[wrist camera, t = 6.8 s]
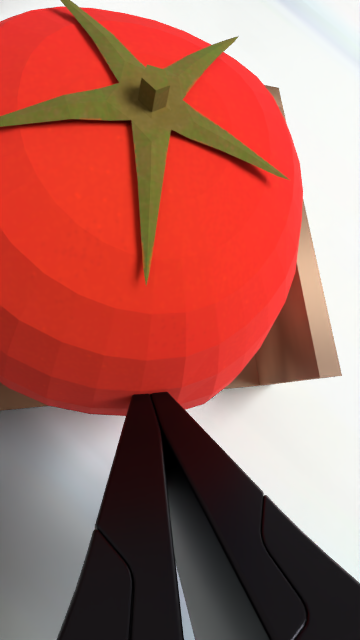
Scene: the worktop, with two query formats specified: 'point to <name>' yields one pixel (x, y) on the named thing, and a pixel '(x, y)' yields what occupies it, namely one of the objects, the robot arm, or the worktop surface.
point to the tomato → (136, 210)
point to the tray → (275, 330)
